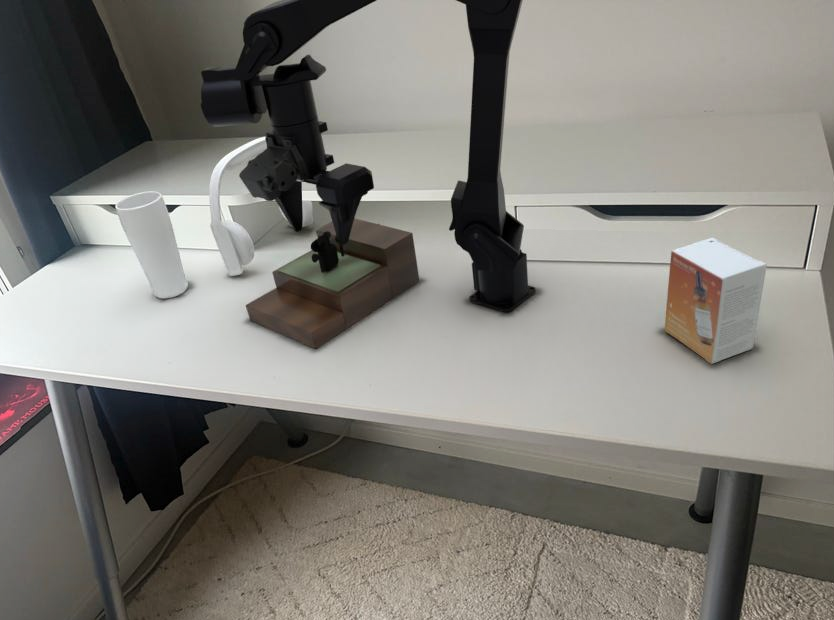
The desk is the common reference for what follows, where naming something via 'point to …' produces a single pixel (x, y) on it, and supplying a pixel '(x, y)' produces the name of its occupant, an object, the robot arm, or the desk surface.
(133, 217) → the drinking glass
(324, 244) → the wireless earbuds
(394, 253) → the step shelf
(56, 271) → the desk surface
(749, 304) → the small box
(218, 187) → the headset
